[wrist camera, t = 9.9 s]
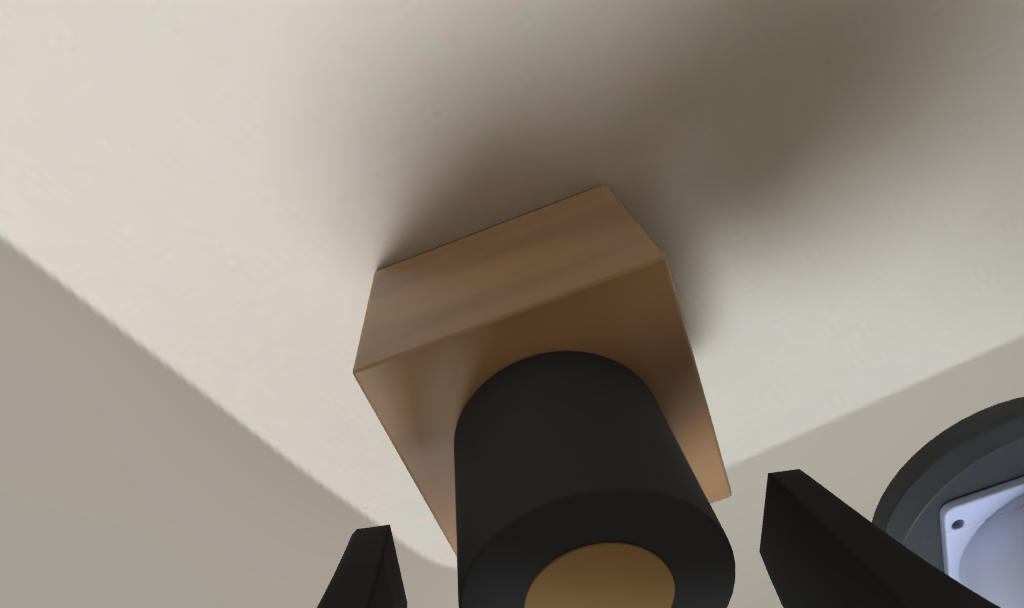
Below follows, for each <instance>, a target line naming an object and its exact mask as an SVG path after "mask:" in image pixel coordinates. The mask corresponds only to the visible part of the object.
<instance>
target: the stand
mask: <svg viewBox="0 0 1024 608" xmlns="http://www.w3.org/2000/svg"><path fill="white" fill-rule="evenodd" d="M556 351H581V352H587V353H593V354H597V355H601V356H604V357H607V358H610V359H612V360H614V361H616V362H619V363H621V364H622V365H624V366H625V367H627V368H629V369H630V370H632V371H633V372H634V373H635V374H636V375H638V376H639V377H640V378H641V379H642V380H643V381H644V383H645V384H646V385H647V386H648V387H649V389H650V391H651V392H652V394H653V395H654V397H655V399H656V401H657V403H658V405H659V407H660V409H661V411H662V413H663V414H664V416H665V418H666V420H667V422H668V424H669V426H670V428H671V430H672V432H673V434H674V436H675V438H676V440H677V441H678V443H679V445H680V447H681V449H682V451H683V453H684V455H685V457H686V459H687V461H688V463H689V465H690V467H691V469H692V470H693V472H694V474H695V476H696V478H697V480H698V482H699V484H700V486H701V488H702V490H703V492H704V494H705V496H706V497H707V499H708V501H709V503H710V504H711V503H713V502H716V501H719V500H722V499H725V498H728V497H730V496H731V489H730V485H729V482H728V478H727V474H726V471H725V467H724V463H723V460H722V456H721V453H720V449H719V445H718V442H717V438H716V435H715V431H714V427H713V424H712V420H711V416H710V413H709V409H708V406H707V402H706V398H705V395H704V391H703V388H702V384H701V380H700V377H699V373H698V369H697V366H696V362H695V359H694V355H693V351H692V348H691V344H690V341H689V337H688V333H687V330H686V326H685V322H684V319H683V315H682V312H681V308H680V304H679V301H678V297H677V294H676V290H675V286H674V283H673V279H672V276H671V272H670V268H669V265H668V261H667V258H666V256H665V255H664V254H663V253H662V251H661V250H660V249H659V248H658V247H657V245H656V244H655V243H654V242H653V241H652V239H651V238H650V237H649V236H648V235H647V233H646V232H645V231H644V230H643V228H642V227H641V226H640V225H639V224H638V222H637V221H636V220H635V219H634V218H633V216H632V215H631V214H630V213H629V211H628V210H627V209H626V208H625V207H624V205H623V204H622V203H621V202H620V201H619V199H618V198H617V197H616V196H615V194H614V193H613V192H612V191H611V190H610V188H609V187H608V186H607V185H601V186H599V187H596V188H593V189H591V190H588V191H585V192H583V193H580V194H578V195H575V196H572V197H570V198H567V199H564V200H562V201H559V202H557V203H554V204H551V205H549V206H546V207H543V208H541V209H538V210H536V211H533V212H530V213H528V214H525V215H522V216H520V217H517V218H515V219H512V220H509V221H507V222H504V223H501V224H499V225H496V226H494V227H491V228H488V229H486V230H483V231H480V232H478V233H475V234H473V235H470V236H467V237H465V238H462V239H459V240H457V241H454V242H452V243H449V244H446V245H444V246H441V247H439V248H436V249H433V250H431V251H428V252H425V253H423V254H420V255H418V256H415V257H412V258H410V259H407V260H404V261H402V262H399V263H397V264H394V265H391V266H389V267H386V268H383V269H381V270H378V271H376V272H375V274H374V279H373V283H372V288H371V292H370V297H369V301H368V305H367V310H366V314H365V319H364V323H363V328H362V332H361V337H360V341H359V346H358V350H357V355H356V359H355V364H354V368H353V375H354V376H355V378H356V380H357V382H358V383H359V385H360V387H361V389H362V390H363V392H364V394H365V396H366V397H367V399H368V401H369V403H370V405H371V406H372V408H373V410H374V412H375V413H376V415H377V417H378V419H379V420H380V422H381V424H382V426H383V427H384V429H385V431H386V433H387V434H388V436H389V438H390V440H391V441H392V443H393V445H394V447H395V449H396V450H397V452H398V454H399V456H400V457H401V459H402V461H403V463H404V464H405V466H406V468H407V470H408V471H409V473H410V475H411V477H412V478H413V480H414V482H415V484H416V486H417V487H418V489H419V491H420V493H421V494H422V496H423V498H424V500H425V501H426V503H427V505H428V507H429V508H430V510H431V512H432V514H433V515H434V517H435V519H436V521H437V523H438V524H439V526H440V528H441V530H442V531H443V533H444V535H445V537H446V538H447V540H448V542H449V544H450V545H451V547H452V549H453V551H454V552H455V554H456V556H457V535H456V502H455V469H454V437H455V431H456V427H457V423H458V420H459V418H460V415H461V413H462V411H463V409H464V407H465V406H466V404H467V402H468V401H469V399H470V398H471V397H472V396H473V394H474V393H475V392H476V391H477V389H478V388H479V387H480V386H481V385H482V384H484V383H485V382H486V381H487V380H488V379H489V378H490V377H492V376H493V375H494V374H496V373H497V372H498V371H500V370H502V369H504V368H505V367H507V366H509V365H511V364H513V363H515V362H517V361H520V360H522V359H524V358H528V357H531V356H534V355H538V354H543V353H548V352H556Z"/></svg>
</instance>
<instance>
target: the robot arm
mask: <svg viewBox="0 0 1024 608" xmlns="http://www.w3.org/2000/svg"><path fill="white" fill-rule="evenodd" d="M939 516H940V528H941V540H942V552H943V564H944V572H942V571H941V570H939V569H938V568H936V567H934V566H933V565H931V564H930V563H928V562H927V561H925V560H924V559H922V558H921V557H919V556H918V555H917V554H915V553H914V552H912V551H911V550H909V549H908V548H906V547H905V546H903V545H902V544H901V543H899V542H898V541H896V540H895V539H893V538H892V537H891V536H889V535H888V534H886V533H885V532H884V531H882V530H881V529H879V528H878V527H877V526H875V525H874V524H873V523H871V522H870V521H869V520H867V519H866V518H864V517H863V516H862V515H860V514H859V513H858V512H856V511H855V510H854V509H852V508H851V507H850V506H848V505H847V504H845V503H844V502H843V501H842V500H840V499H839V498H838V497H836V496H835V495H834V494H832V493H831V492H830V491H828V490H827V489H825V488H824V487H823V486H822V485H820V484H819V483H818V482H816V481H815V480H813V479H812V478H811V477H810V476H808V475H807V474H805V473H804V472H803V471H801V470H800V469H797V470H789V471H782V472H774V473H768V479H767V488H766V498H765V507H764V516H763V525H762V534H761V543H760V554H761V557H762V559H763V561H764V564H765V566H766V569H767V571H768V574H769V576H770V579H771V581H772V583H773V585H774V588H775V590H776V592H777V594H778V597H779V599H780V601H781V604H782V605H783V607H784V608H1024V476H1023V477H1020V478H1017V479H1014V480H1011V481H1008V482H1005V483H1002V484H999V485H996V486H993V487H990V488H987V489H984V490H981V491H978V492H975V493H972V494H969V495H966V496H963V497H960V498H957V499H954V500H951V501H949V502H947V503H945V504H944V505H943V506H942V507H941V509H940V513H939ZM317 608H407V599H406V595H405V591H404V586H403V582H402V578H401V572H400V568H399V564H398V559H397V555H396V550H395V546H394V541H393V537H392V532H391V528H390V525H384V526H377V527H370V528H362V529H357V530H356V531H355V532H354V533H353V534H352V536H351V538H350V541H349V543H348V546H347V548H346V550H345V552H344V554H343V557H342V559H341V561H340V563H339V565H338V567H337V570H336V572H335V574H334V576H333V578H332V580H331V582H330V584H329V586H328V588H327V590H326V592H325V594H324V595H323V597H322V599H321V601H320V603H319V605H318V607H317Z"/></svg>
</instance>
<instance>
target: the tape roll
mask: <svg viewBox="0 0 1024 608" xmlns="http://www.w3.org/2000/svg"><path fill="white" fill-rule="evenodd" d="M454 469H455V502H456V535H457V568H458V601H459V608H727V606H728V604H729V601H730V599H731V596H732V593H733V587H734V582H735V560H734V556H733V550H732V548H731V545H730V543H729V541H728V538H727V536H726V534H725V532H724V530H723V528H722V527H721V524H720V523H719V521H718V519H717V517H716V515H715V513H714V511H713V509H712V507H711V505H710V503H709V501H708V499H707V497H706V496H705V494H704V492H703V490H702V488H701V486H700V484H699V482H698V480H697V478H696V476H695V474H694V472H693V470H692V469H691V467H690V465H689V463H688V461H687V459H686V457H685V455H684V453H683V451H682V449H681V447H680V445H679V443H678V441H677V440H676V438H675V436H674V434H673V432H672V430H671V428H670V426H669V424H668V422H667V420H666V418H665V416H664V414H663V413H662V411H661V409H660V407H659V405H658V403H657V401H656V399H655V397H654V395H653V394H652V392H651V391H650V389H649V387H648V386H647V385H646V384H645V383H644V381H643V380H642V379H641V378H640V377H639V376H638V375H636V374H635V373H634V372H633V371H632V370H630V369H629V368H627V367H625V366H624V365H622V364H621V363H619V362H616V361H614V360H612V359H610V358H607V357H604V356H601V355H597V354H593V353H587V352H581V351H556V352H548V353H543V354H538V355H534V356H531V357H528V358H524V359H522V360H520V361H517V362H515V363H513V364H511V365H509V366H507V367H505V368H504V369H502V370H500V371H498V372H497V373H496V374H494V375H493V376H492V377H490V378H489V379H488V380H487V381H486V382H485V383H484V384H482V385H481V386H480V387H479V388H478V389H477V391H476V392H475V393H474V394H473V396H472V397H471V398H470V399H469V401H468V402H467V404H466V406H465V407H464V409H463V411H462V413H461V415H460V418H459V420H458V423H457V427H456V431H455V437H454Z"/></svg>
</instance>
